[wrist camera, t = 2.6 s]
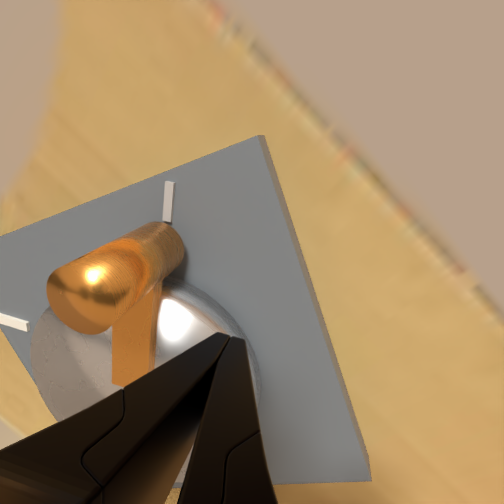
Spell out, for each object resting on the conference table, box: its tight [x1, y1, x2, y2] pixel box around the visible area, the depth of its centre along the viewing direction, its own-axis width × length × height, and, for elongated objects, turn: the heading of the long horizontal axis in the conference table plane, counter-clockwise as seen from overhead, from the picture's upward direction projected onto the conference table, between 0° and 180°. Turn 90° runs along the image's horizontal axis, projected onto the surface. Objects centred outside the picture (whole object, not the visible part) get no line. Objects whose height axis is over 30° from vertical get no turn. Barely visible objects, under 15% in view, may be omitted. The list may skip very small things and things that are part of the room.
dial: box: [30, 221, 261, 483], centre depth 15 cm, size 15×12×6 cm
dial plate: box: [0, 135, 372, 488], centre depth 19 cm, size 19×19×2 cm
